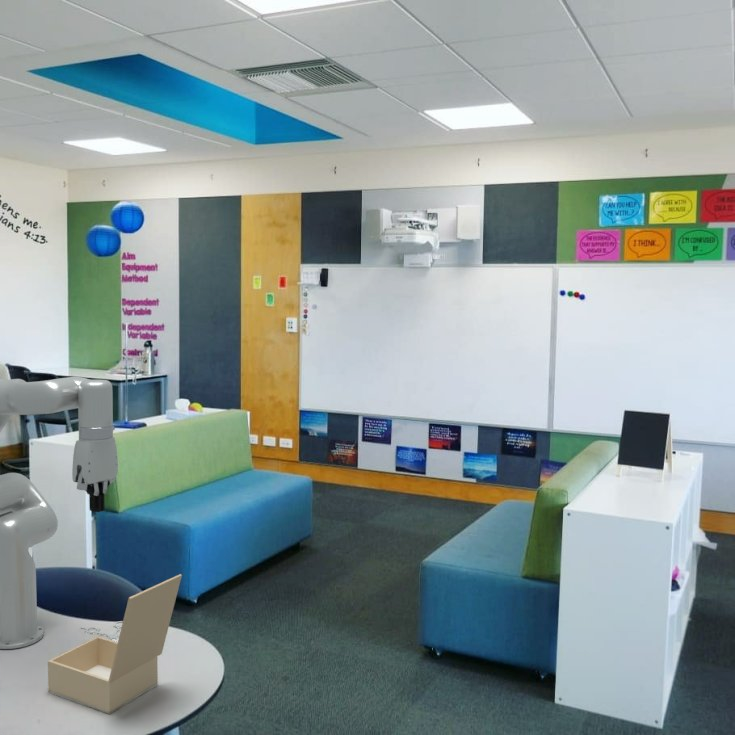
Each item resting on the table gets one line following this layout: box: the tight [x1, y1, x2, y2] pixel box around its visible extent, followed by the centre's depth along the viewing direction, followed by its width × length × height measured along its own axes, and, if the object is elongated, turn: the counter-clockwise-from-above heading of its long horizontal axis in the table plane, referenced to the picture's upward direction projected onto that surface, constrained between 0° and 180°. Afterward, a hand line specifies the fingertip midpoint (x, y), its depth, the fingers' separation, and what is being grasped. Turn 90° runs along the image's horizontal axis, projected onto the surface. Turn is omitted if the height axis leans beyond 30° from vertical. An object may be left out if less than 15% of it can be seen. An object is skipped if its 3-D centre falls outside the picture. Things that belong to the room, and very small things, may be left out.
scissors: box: [80, 620, 123, 642], centre depth 195 cm, size 11×1×20 cm
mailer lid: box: [108, 573, 183, 683], centre depth 163 cm, size 20×15×1 cm
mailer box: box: [47, 635, 159, 715], centre depth 170 cm, size 18×14×7 cm
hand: (97, 510), depth 183 cm, fingers closed
